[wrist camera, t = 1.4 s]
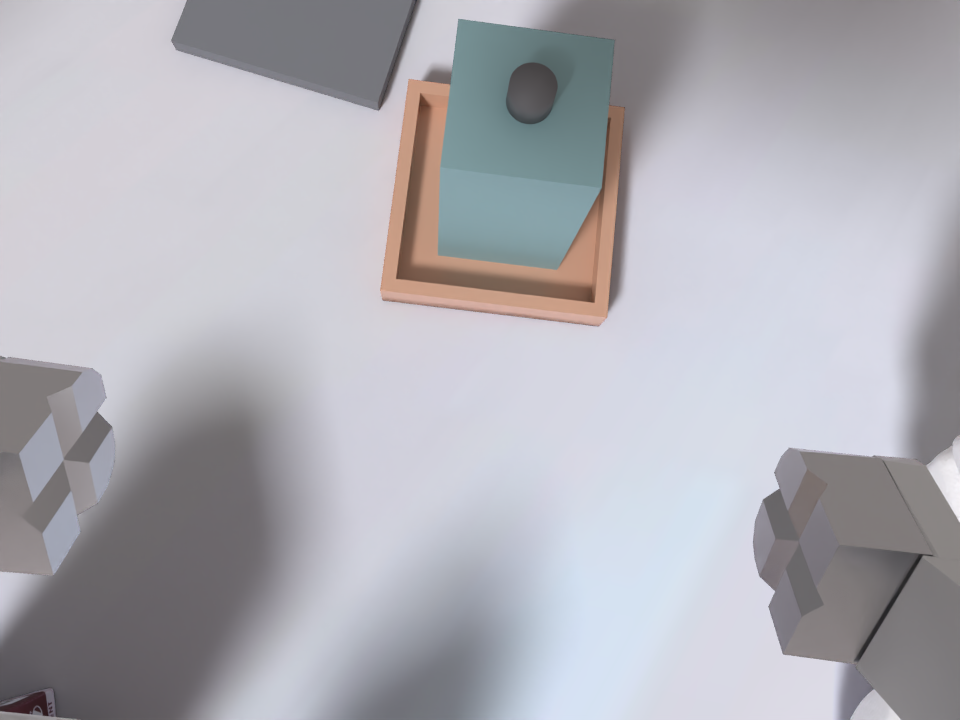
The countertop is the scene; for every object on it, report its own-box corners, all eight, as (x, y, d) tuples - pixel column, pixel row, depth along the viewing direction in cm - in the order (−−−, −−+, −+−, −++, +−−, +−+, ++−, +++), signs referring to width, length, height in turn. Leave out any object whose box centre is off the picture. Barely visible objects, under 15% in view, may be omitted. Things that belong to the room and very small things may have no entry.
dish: (382, 300, 38) (378, 284, 35) (409, 98, 39) (407, 67, 37) (598, 326, 38) (611, 312, 35) (616, 124, 40) (629, 96, 37)
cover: (437, 255, 37) (440, 152, 26) (451, 142, 38) (459, -3, 27) (557, 269, 38) (609, 174, 27) (567, 157, 39) (622, 20, 28)
